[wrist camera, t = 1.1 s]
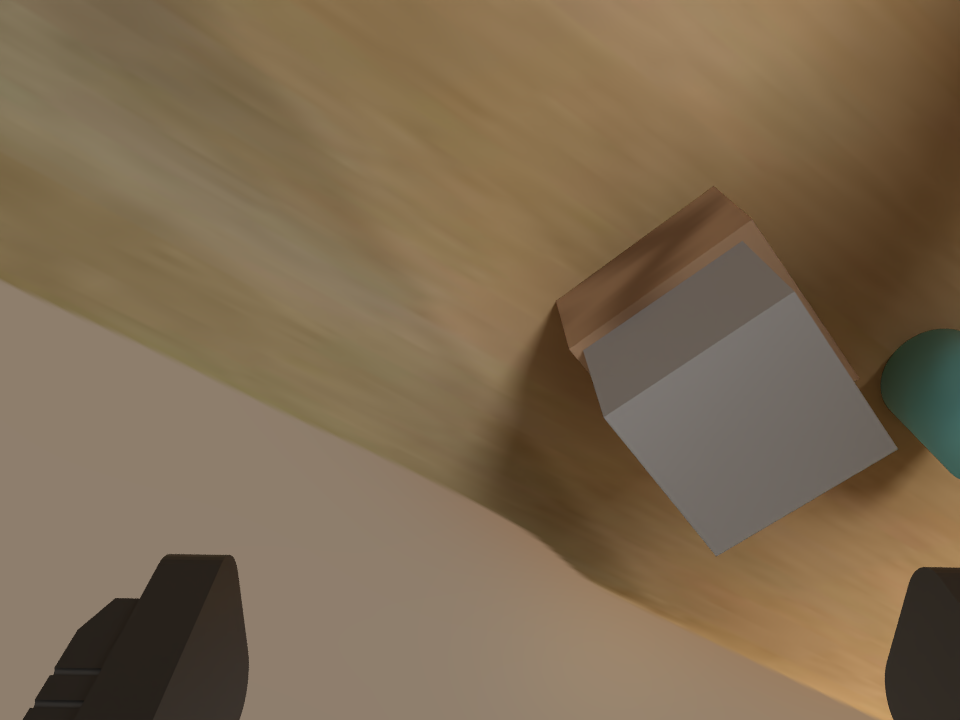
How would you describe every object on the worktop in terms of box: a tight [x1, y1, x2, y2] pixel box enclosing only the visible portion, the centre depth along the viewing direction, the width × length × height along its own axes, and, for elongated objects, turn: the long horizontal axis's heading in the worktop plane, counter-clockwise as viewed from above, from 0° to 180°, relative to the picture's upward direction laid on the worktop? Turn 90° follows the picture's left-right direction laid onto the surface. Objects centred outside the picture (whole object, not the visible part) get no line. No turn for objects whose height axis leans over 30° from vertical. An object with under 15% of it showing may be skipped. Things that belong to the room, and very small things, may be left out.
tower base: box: [556, 186, 860, 382], centre depth 33 cm, size 8×8×5 cm
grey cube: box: [583, 241, 898, 556], centre depth 28 cm, size 6×6×5 cm
